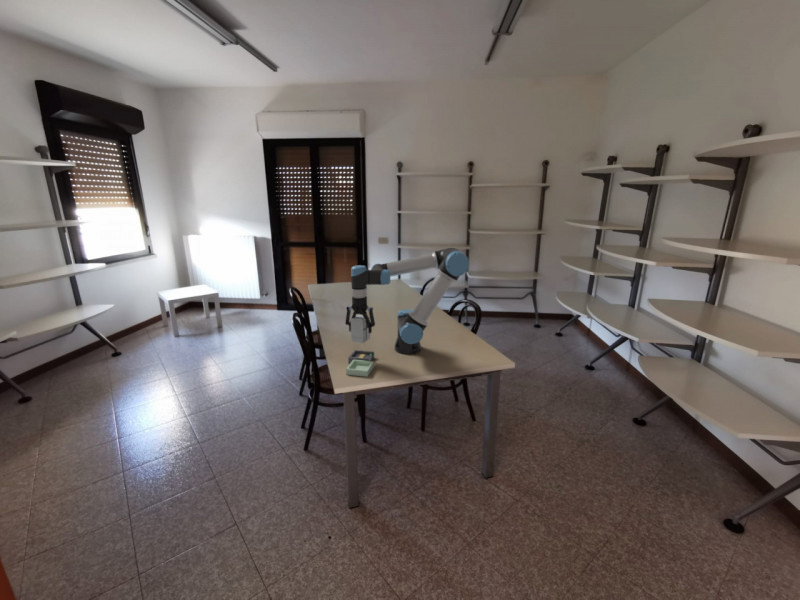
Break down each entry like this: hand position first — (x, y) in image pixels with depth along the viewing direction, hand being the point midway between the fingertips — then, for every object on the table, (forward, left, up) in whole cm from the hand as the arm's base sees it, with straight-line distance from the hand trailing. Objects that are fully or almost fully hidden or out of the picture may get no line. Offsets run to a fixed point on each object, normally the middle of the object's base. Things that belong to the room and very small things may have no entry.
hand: (360, 337), depth 191 cm
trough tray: (-3, +11, -13) cm, 17 cm away
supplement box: (0, 0, -1) cm, 1 cm away
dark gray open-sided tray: (0, 0, -13) cm, 13 cm away
